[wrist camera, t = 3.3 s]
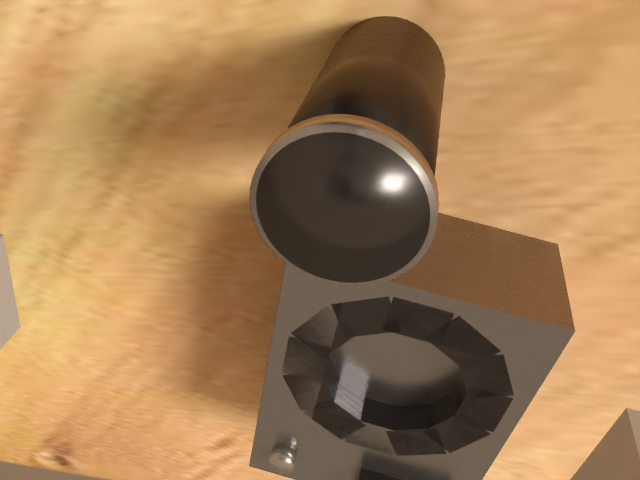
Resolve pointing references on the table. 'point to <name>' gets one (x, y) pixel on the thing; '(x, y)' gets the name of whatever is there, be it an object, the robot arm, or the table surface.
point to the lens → (358, 160)
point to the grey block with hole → (413, 361)
